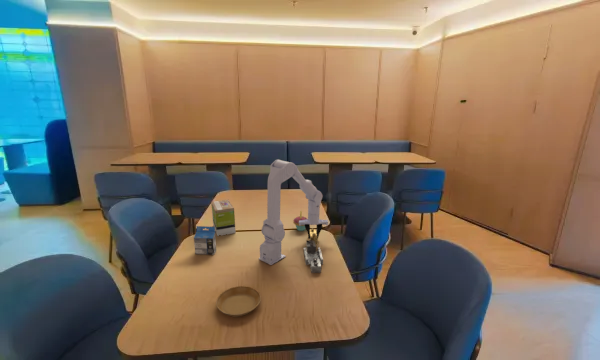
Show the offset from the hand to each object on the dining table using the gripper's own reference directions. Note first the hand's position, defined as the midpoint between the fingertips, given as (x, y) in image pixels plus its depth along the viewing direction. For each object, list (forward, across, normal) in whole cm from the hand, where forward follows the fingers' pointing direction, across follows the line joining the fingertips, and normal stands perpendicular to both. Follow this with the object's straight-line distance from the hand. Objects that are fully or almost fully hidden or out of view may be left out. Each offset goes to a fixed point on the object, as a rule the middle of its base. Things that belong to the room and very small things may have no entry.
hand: (313, 237), depth 143 cm
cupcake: (+2, +5, -14) cm, 15 cm away
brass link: (+1, 0, 0) cm, 1 cm away
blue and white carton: (+2, +51, +10) cm, 52 cm away
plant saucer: (+2, +31, +47) cm, 56 cm away
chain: (+1, +2, +18) cm, 18 cm away
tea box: (+2, +48, -16) cm, 50 cm away
